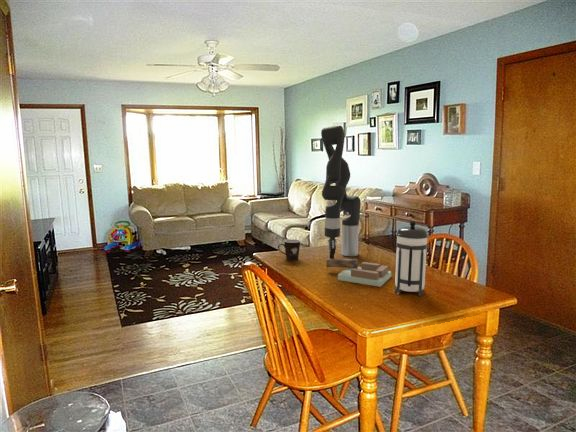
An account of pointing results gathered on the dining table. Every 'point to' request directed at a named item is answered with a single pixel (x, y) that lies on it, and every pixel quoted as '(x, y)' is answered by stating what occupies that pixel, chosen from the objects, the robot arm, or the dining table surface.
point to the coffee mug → (291, 249)
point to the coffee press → (411, 259)
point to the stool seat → (366, 274)
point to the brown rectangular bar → (342, 263)
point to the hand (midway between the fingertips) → (331, 261)
